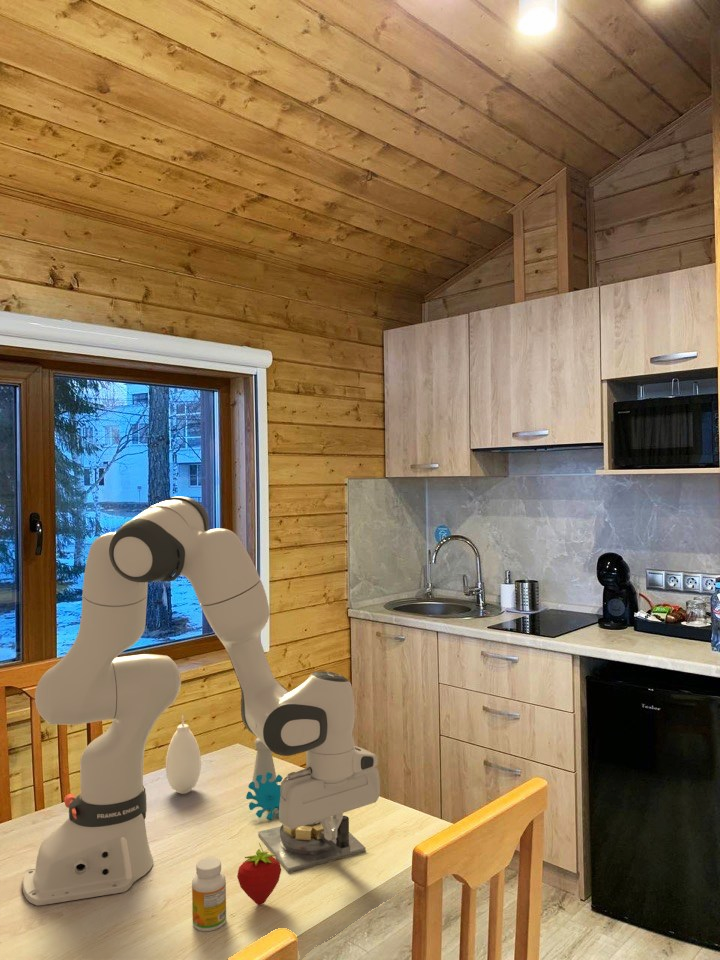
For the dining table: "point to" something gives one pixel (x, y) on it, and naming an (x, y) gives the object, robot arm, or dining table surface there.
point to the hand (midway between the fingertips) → (330, 838)
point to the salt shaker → (263, 763)
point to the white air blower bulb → (183, 760)
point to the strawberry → (259, 876)
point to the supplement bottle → (208, 895)
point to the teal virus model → (266, 795)
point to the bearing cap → (303, 849)
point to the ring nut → (318, 833)
